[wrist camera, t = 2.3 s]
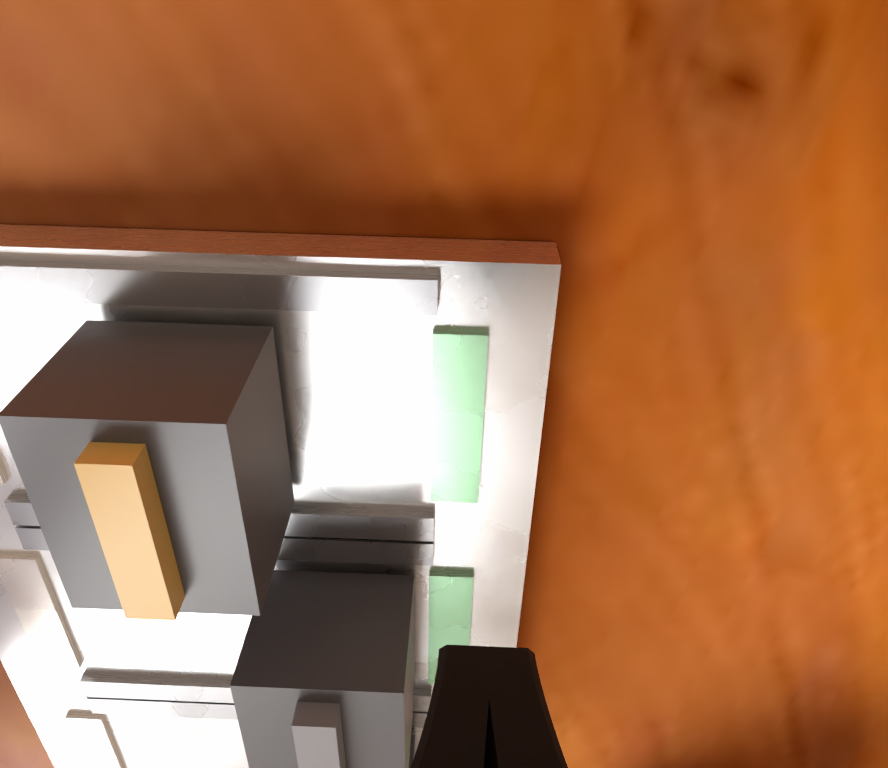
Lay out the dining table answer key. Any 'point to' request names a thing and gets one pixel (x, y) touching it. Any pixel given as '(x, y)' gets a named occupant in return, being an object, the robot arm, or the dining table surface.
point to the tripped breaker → (158, 466)
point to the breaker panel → (290, 456)
